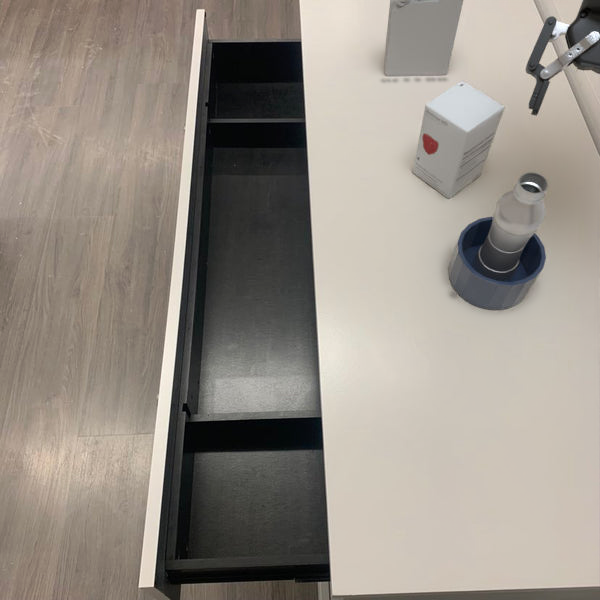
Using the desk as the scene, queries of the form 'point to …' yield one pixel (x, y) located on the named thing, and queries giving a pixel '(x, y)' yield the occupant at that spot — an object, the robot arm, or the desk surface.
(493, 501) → the desk surface
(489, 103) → the white product box
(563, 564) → the desk surface
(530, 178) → the silver bottle
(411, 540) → the desk surface
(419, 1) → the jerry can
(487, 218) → the bowl
